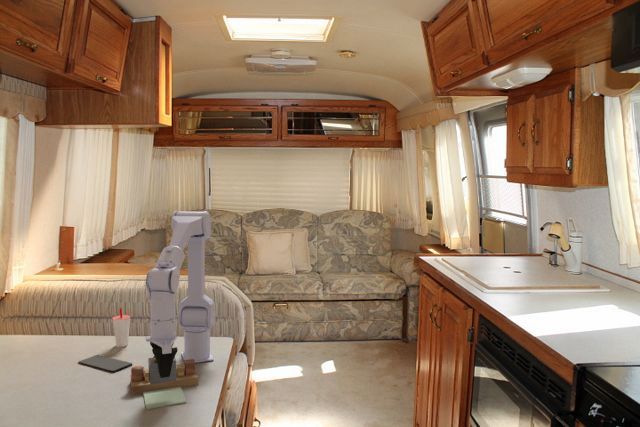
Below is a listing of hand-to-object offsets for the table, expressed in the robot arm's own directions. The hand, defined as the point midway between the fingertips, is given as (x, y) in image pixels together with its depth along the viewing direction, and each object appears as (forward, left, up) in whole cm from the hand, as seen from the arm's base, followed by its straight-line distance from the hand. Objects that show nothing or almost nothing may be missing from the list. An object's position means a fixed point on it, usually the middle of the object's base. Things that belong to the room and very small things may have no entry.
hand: (163, 373), depth 123 cm
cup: (-44, -8, -6) cm, 45 cm away
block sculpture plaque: (-9, +1, -6) cm, 11 cm away
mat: (0, 0, -6) cm, 6 cm away
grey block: (0, 0, -1) cm, 2 cm away
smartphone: (-29, -13, -7) cm, 32 cm away
